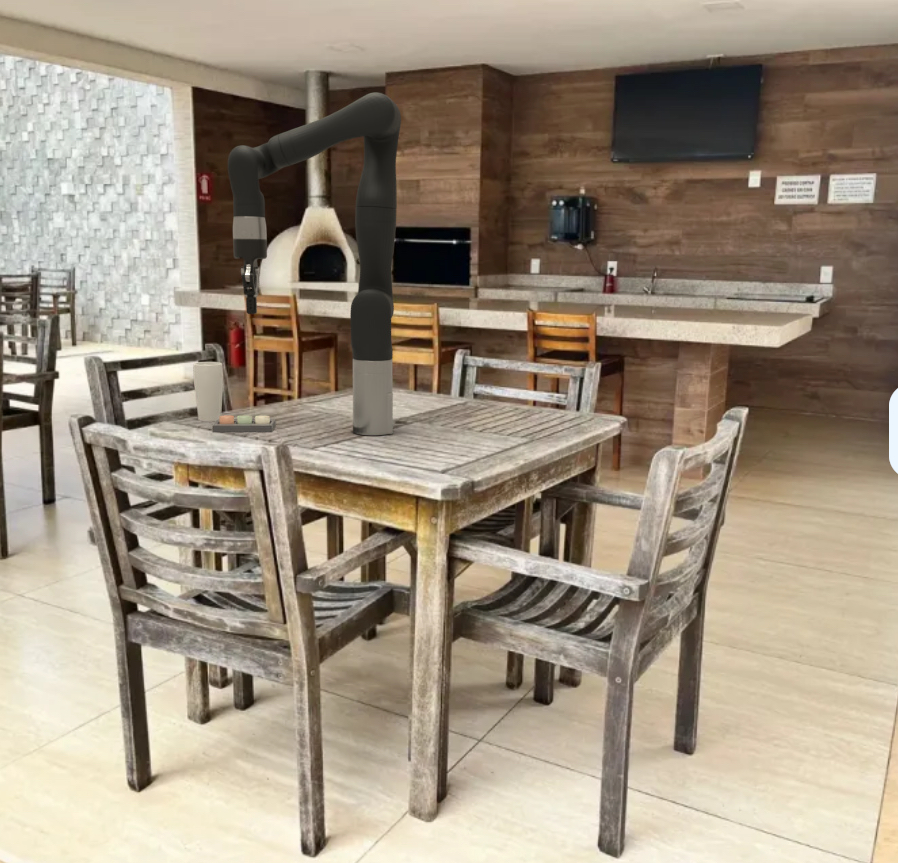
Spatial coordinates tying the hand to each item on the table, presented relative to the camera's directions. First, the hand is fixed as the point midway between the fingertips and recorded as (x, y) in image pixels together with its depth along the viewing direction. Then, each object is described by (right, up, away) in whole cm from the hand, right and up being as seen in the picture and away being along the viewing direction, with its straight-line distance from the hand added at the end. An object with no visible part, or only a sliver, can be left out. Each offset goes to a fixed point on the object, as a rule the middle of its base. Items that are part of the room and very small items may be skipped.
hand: (251, 313), depth 208 cm
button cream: (+3, -28, -4) cm, 28 cm away
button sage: (-1, -28, -4) cm, 28 cm away
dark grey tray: (-1, -28, -4) cm, 29 cm away
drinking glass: (-12, -26, +7) cm, 29 cm away
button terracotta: (-5, -28, -5) cm, 29 cm away
